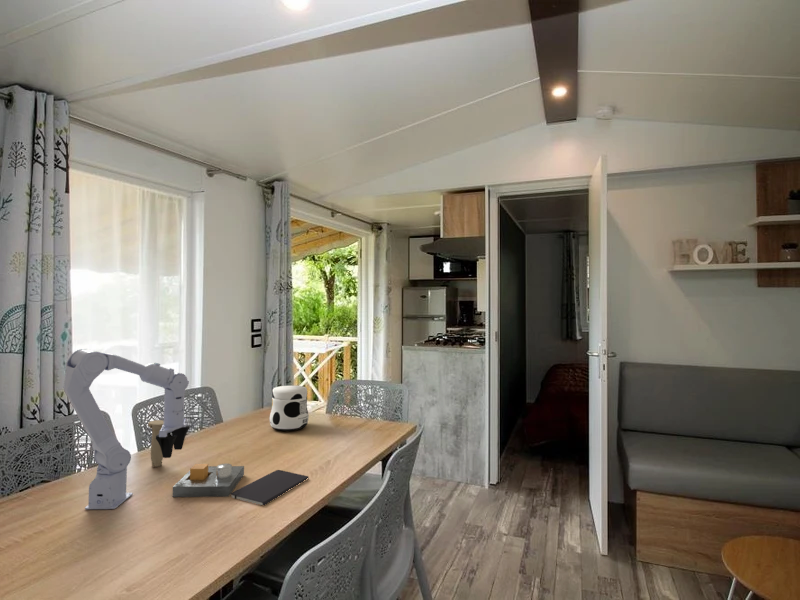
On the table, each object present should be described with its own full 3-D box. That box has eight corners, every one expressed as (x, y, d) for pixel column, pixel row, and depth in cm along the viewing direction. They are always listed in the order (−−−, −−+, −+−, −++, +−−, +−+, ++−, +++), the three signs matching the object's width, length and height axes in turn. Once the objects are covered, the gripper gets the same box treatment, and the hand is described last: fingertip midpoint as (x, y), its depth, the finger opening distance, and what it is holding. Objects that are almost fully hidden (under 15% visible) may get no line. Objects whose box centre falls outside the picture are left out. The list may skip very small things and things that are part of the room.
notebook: (262, 508, 123) (308, 481, 143) (262, 502, 123) (308, 476, 143) (229, 499, 129) (277, 474, 148) (229, 493, 129) (277, 469, 148)
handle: (156, 469, 148) (157, 425, 148) (144, 466, 151) (145, 422, 151) (169, 465, 153) (170, 421, 153) (156, 461, 155) (157, 419, 155)
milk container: (269, 424, 206) (269, 385, 206) (306, 421, 211) (307, 384, 211) (269, 434, 189) (270, 393, 190) (310, 432, 195) (311, 391, 195)
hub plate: (228, 496, 129) (229, 476, 129) (172, 497, 128) (172, 476, 128) (243, 475, 145) (244, 457, 145) (194, 475, 144) (194, 457, 144)
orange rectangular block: (203, 488, 134) (203, 468, 134) (189, 488, 134) (190, 468, 134) (207, 483, 138) (208, 464, 138) (194, 483, 138) (195, 464, 138)
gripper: (176, 416, 132) (175, 461, 131) (196, 405, 146) (195, 445, 146) (152, 415, 131) (151, 461, 131) (174, 404, 146) (173, 445, 146)
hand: (172, 453), depth 138 cm, fingers open, 7 cm apart
